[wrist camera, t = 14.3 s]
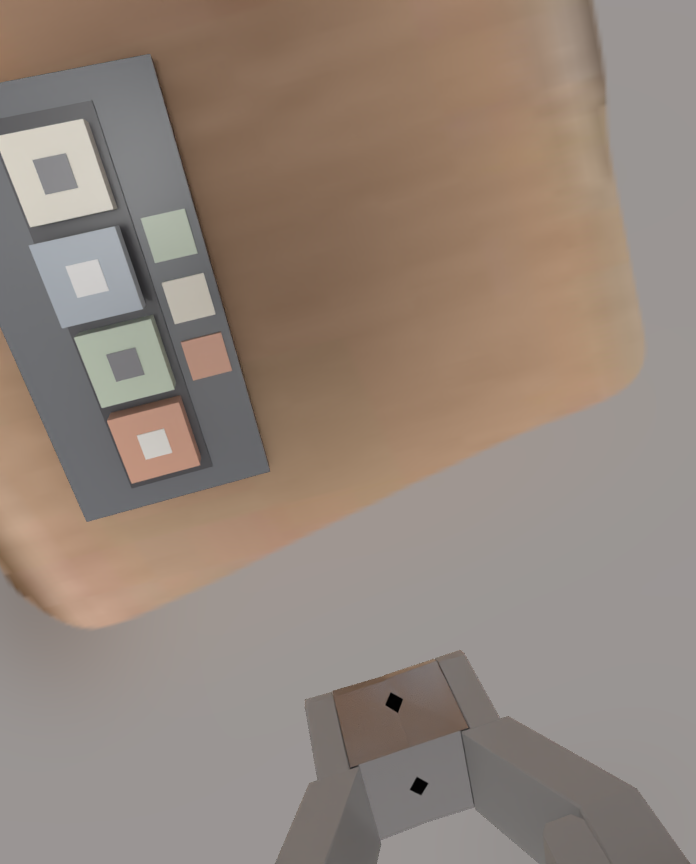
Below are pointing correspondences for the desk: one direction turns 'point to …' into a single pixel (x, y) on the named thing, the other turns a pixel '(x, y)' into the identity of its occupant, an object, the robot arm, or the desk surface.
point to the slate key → (88, 276)
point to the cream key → (57, 172)
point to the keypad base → (158, 279)
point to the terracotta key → (154, 439)
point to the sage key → (126, 361)
